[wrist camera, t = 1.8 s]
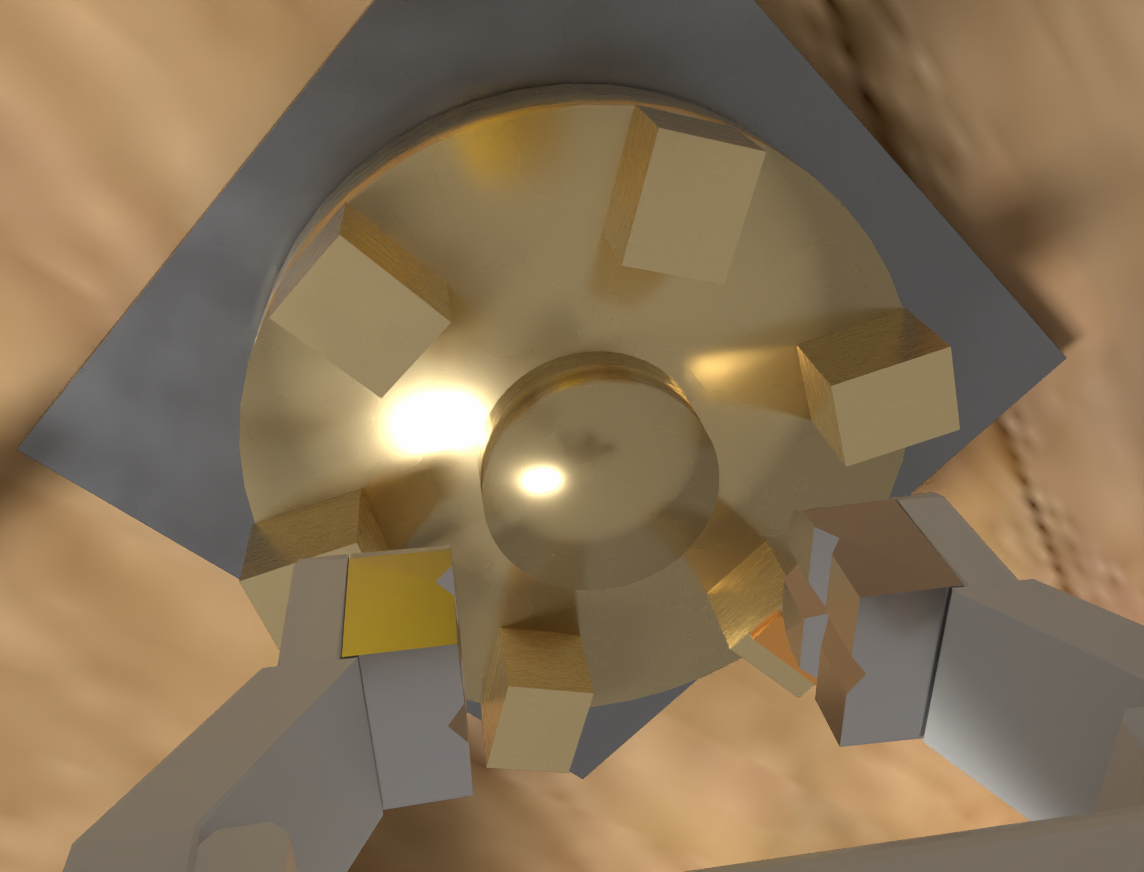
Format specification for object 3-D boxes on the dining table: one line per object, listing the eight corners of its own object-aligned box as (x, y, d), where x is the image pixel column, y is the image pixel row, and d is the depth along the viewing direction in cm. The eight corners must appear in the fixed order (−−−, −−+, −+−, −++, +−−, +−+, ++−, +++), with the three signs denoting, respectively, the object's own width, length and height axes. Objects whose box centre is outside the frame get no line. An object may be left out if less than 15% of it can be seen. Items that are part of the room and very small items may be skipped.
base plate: (25, 436, 29) (15, 451, 28) (551, -224, 23) (556, -227, 23) (579, 762, 38) (583, 781, 38) (1052, 347, 33) (1068, 359, 32)
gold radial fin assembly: (121, 443, 29) (62, 562, 24) (561, -84, 24) (602, -73, 19) (582, 726, 36) (610, 860, 31) (984, 368, 31) (1093, 459, 27)
